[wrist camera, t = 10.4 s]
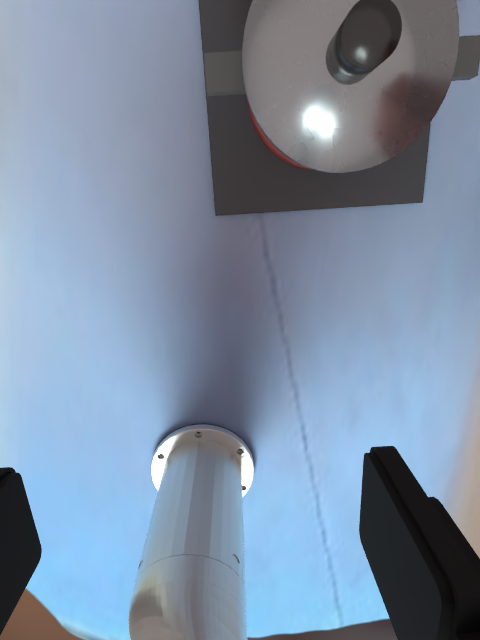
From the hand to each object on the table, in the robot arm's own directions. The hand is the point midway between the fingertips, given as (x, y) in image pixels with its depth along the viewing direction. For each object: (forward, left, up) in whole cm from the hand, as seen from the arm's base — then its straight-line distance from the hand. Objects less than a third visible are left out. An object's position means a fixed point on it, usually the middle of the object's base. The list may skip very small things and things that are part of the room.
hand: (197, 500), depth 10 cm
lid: (+16, -10, -21) cm, 28 cm away
